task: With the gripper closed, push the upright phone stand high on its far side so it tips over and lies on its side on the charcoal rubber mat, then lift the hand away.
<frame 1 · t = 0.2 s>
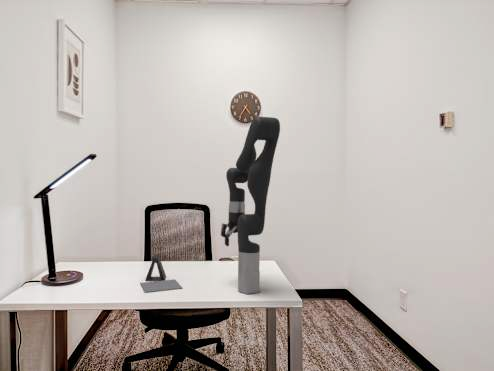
hand: (235, 245, 172), 17 cm above the table, tool pointing down, fingers open, 8 cm apart
phone stand: (155, 279, 176), on the table
mat: (160, 286, 165), on the table
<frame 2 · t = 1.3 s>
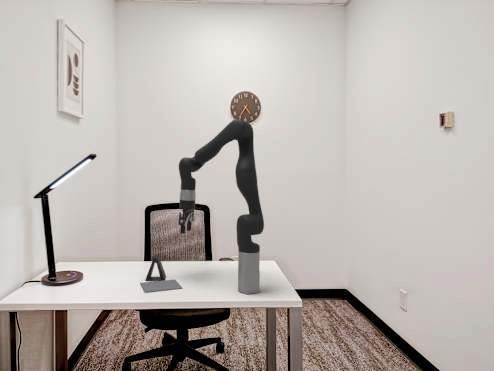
hand: (185, 232, 180), 22 cm above the table, tool pointing down, fingers open, 8 cm apart
nothing on the table moved.
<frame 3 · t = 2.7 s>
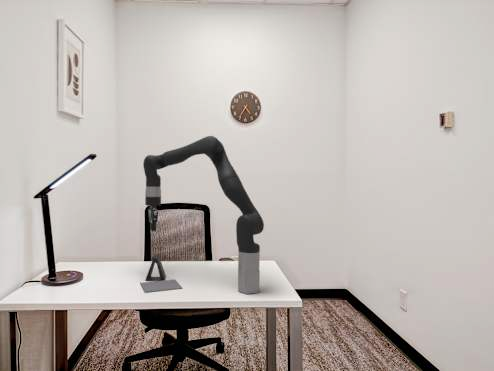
hand: (153, 230, 184), 22 cm above the table, tool pointing down, fingers open, 3 cm apart
nothing on the table moved.
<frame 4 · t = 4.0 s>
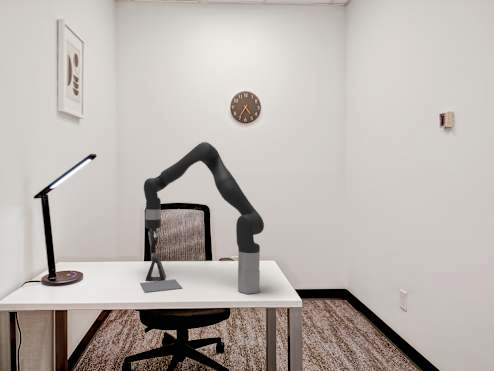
hand: (152, 252, 184), 11 cm above the table, tool pointing down, fingers closed
nothing on the table moved.
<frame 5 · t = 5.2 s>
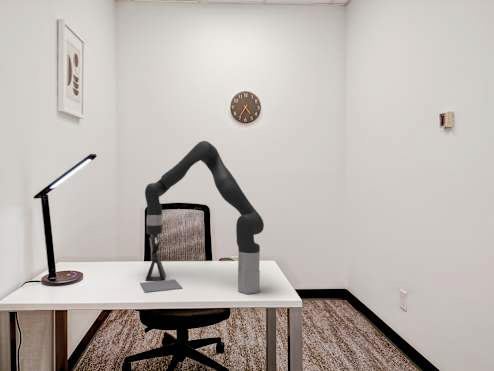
hand: (154, 259, 181), 8 cm above the table, tool pointing down, fingers closed
phone stand: (155, 279, 176), on the table, touching gripper
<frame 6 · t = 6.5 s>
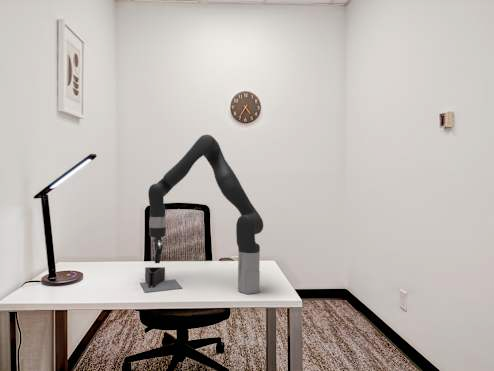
hand: (157, 262, 173), 8 cm above the table, tool pointing down, fingers closed
phone stand: (155, 273, 173), point 3 cm above the table, touching mat
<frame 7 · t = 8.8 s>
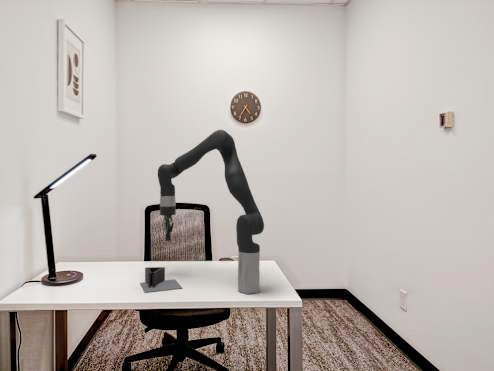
hand: (167, 240, 181), 18 cm above the table, tool pointing down, fingers closed
nothing on the table moved.
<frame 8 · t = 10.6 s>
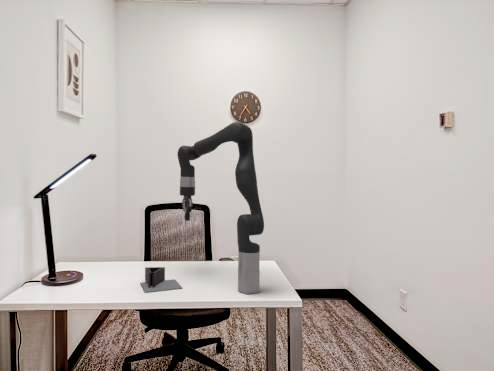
hand: (187, 220, 185), 27 cm above the table, tool pointing down, fingers closed
nothing on the table moved.
at the end: phone stand tilted 90°; phone stand touching mat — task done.
